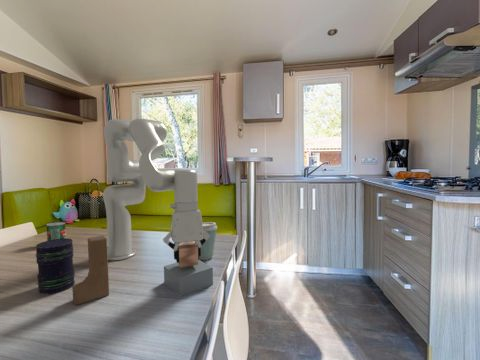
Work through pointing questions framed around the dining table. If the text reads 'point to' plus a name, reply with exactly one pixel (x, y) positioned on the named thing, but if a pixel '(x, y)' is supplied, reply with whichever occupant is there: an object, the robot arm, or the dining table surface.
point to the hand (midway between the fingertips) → (187, 259)
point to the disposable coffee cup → (208, 241)
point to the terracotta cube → (188, 254)
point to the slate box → (188, 277)
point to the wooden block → (94, 273)
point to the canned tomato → (56, 231)
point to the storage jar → (55, 266)
